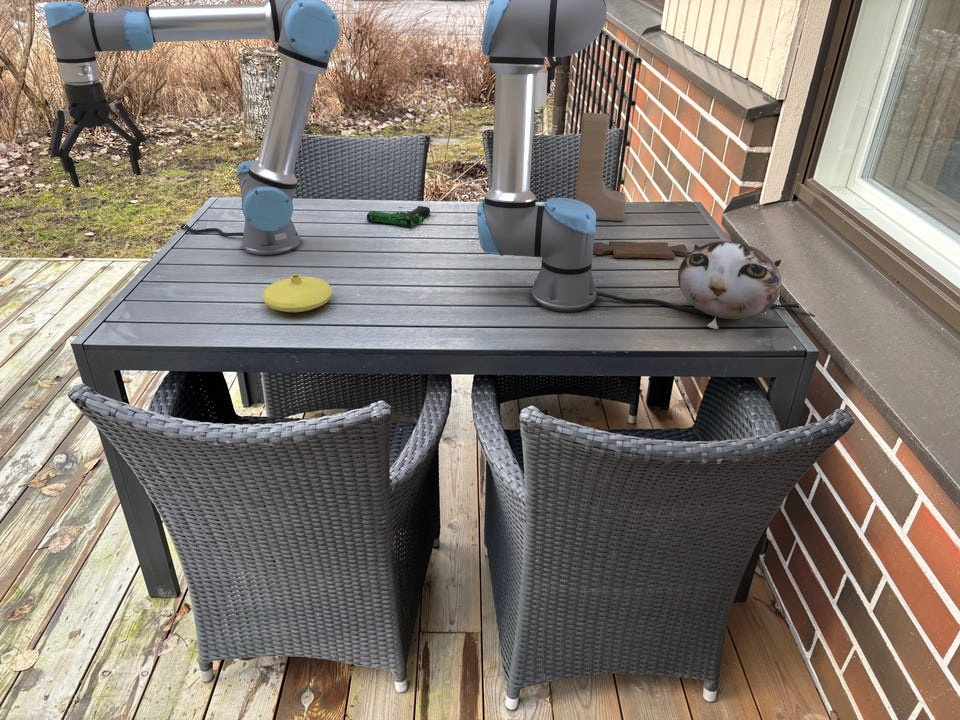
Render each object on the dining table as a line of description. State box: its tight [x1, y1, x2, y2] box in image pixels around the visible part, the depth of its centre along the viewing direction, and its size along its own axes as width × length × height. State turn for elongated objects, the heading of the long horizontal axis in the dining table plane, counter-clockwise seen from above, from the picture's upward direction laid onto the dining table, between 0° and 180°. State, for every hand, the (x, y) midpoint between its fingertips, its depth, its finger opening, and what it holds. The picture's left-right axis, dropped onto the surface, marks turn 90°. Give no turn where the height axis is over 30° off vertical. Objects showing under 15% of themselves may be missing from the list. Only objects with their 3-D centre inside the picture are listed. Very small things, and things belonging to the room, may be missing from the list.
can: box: [535, 68, 548, 108], centre depth 198 cm, size 9×9×9 cm
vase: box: [261, 273, 333, 313], centre depth 164 cm, size 16×16×7 cm
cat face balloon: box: [677, 240, 783, 330], centre depth 159 cm, size 22×18×20 cm
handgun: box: [366, 205, 431, 229], centre depth 216 cm, size 16×3×15 cm
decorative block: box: [574, 112, 626, 222], centre depth 213 cm, size 8×15×30 cm, turn 82°
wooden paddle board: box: [593, 240, 688, 259], centre depth 196 cm, size 26×2×10 cm
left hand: (107, 180), depth 164 cm, fingers open, 13 cm apart
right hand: (530, 92), depth 199 cm, fingers closed on can, 9 cm apart
